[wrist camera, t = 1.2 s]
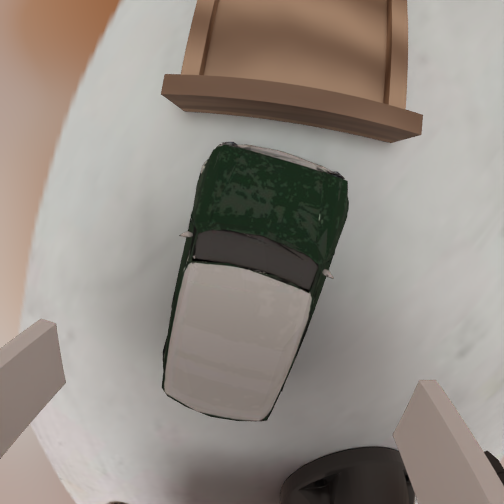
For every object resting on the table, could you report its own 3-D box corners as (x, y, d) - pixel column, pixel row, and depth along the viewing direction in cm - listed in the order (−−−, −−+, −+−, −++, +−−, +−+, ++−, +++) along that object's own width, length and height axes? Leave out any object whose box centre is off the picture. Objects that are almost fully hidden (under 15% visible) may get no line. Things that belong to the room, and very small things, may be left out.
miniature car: (347, 174, 21) (387, 172, 13) (272, 392, 25) (271, 462, 17) (219, 138, 21) (191, 116, 13) (168, 363, 25) (134, 425, 17)
